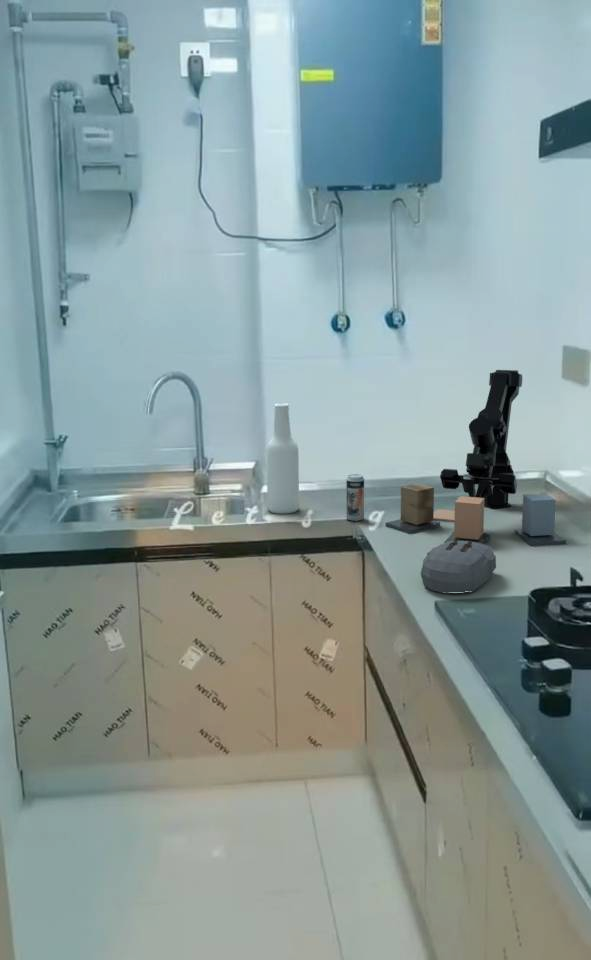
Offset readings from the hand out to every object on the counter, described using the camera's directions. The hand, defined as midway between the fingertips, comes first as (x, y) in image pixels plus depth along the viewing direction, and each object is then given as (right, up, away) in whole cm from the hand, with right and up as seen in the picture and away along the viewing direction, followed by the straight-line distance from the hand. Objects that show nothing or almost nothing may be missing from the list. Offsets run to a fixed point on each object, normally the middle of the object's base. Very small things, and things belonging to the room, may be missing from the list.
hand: (472, 509), depth 235 cm
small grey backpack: (-9, -15, -31) cm, 35 cm away
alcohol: (-48, -1, +28) cm, 55 cm away
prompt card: (-3, -3, +19) cm, 19 cm away
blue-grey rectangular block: (+16, -6, 0) cm, 17 cm away
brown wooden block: (-12, -3, +11) cm, 17 cm away
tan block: (-1, -6, -2) cm, 7 cm away
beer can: (-28, -3, +18) cm, 34 cm away
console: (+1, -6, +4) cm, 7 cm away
